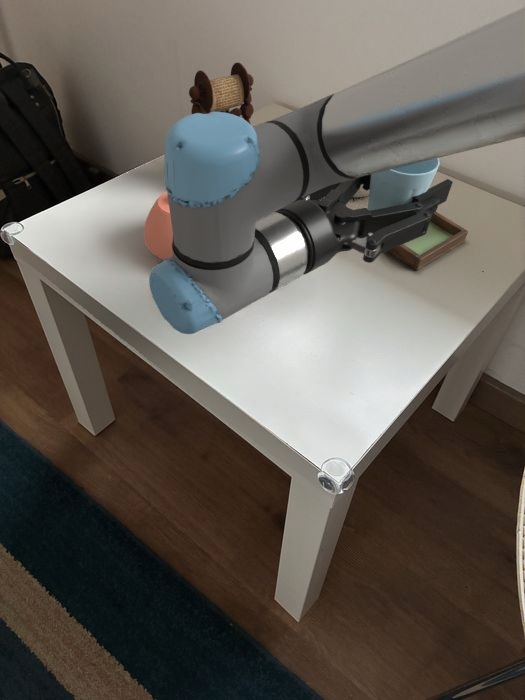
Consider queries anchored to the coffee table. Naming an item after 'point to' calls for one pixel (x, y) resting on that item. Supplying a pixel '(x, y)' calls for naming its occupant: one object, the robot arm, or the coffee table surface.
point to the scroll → (223, 93)
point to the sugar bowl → (159, 229)
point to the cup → (401, 184)
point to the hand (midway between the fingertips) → (422, 176)
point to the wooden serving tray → (431, 242)
